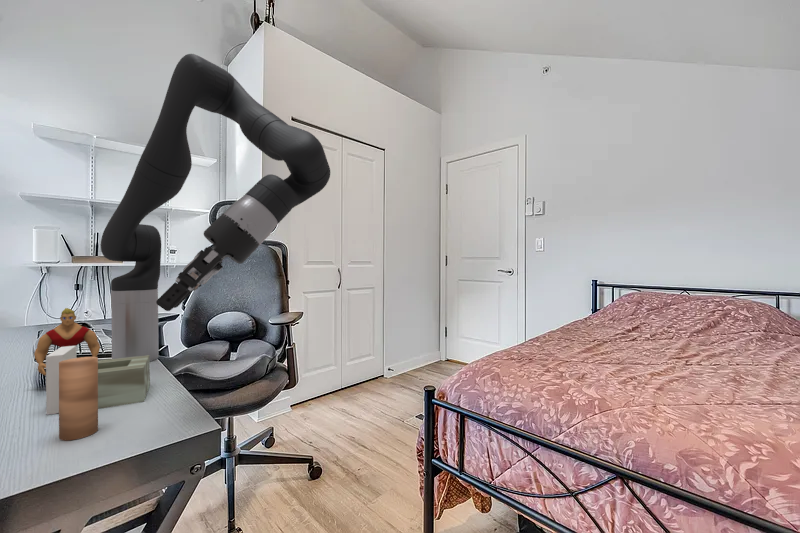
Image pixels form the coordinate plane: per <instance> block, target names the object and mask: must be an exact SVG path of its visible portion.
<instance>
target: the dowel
mask: <svg viewBox="0 0 800 533" xmlns="http://www.w3.org/2000/svg"><path fill="white" fill-rule="evenodd" d="M98 361H99V357H98V356H97V357H92V356H81V357H77V358H73V359H68V360H64V361H61V362H59V413H58V439H59V440H60V441H75V440H79V439H83V438H86V437H89V436H93V435H94V434H95V433H97V432H98V431H99V409H98Z"/></svg>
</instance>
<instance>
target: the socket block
mask: <svg viewBox="0 0 800 533" xmlns="http://www.w3.org/2000/svg"><path fill="white" fill-rule="evenodd" d="M150 362H151V361H150V355H146V356H136V357H127V358H118V359H112V358H110V359H109V358H108V359H102V360H101V359H98V410H100V409H105V408H106V409H107V408H113V407H119V406H124V405H132V404H137V403H144V402H145V400H146V398H147V394H148V391H149V390H150V386H151V377H150V376H151V372H150V370H151V369H150V368H151V367H150V366H151V365H150V364H151V363H150Z"/></svg>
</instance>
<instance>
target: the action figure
mask: <svg viewBox="0 0 800 533" xmlns="http://www.w3.org/2000/svg"><path fill="white" fill-rule="evenodd" d="M60 314H61V315H60V317H59V318H60V321H61V323H60V324H58V325H57V326H56V327H54V328H52V329H51V330H48V331H45V333H44V334H43V335H42V336H41V337H39V339H38V342H37V346H36V349H35V350H34V353H33V354H34V358H35V360H36V363H37V364H38V365H37V371H38V372H39V373H40V374H41V375H43V376H46V363H44V361H45V360H46V356H48V353H49V350H50V347H51V346H55V347H59V348H60V347H66V346H76V347H77V346H78V345H79V344H82V343H83V342H86V344H87V347H88V349H89V352H90V353H91V357H98V355H99V352H100V350H101V345H100V343H99V339H98V336H97V334H96V332H94V331H93V330H92V329H90V328H89V327H86V326H83V325H81V324H79V323H77V322H75V320H77V316H76V313H75V310H73V309H71V308H67V307H65V308H64V309H63V310H62V311H61V313H60Z"/></svg>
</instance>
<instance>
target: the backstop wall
mask: <svg viewBox="0 0 800 533" xmlns="http://www.w3.org/2000/svg"><path fill="white" fill-rule="evenodd" d="M73 358H78V357H77V346H66V347H59V348H57V349H55V350H53V352H51V353H49V354H47V355H46V357H45V364H46V368H45V372H46V375H45V392H46V393H45V396H46V402H45V403H46V407H45V409H46V416H48V415H54V414H59V362H61V361H64V360H68V359H73Z"/></svg>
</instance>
